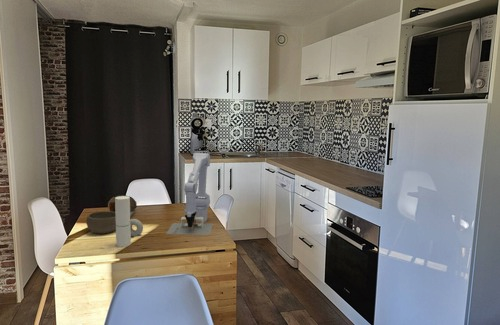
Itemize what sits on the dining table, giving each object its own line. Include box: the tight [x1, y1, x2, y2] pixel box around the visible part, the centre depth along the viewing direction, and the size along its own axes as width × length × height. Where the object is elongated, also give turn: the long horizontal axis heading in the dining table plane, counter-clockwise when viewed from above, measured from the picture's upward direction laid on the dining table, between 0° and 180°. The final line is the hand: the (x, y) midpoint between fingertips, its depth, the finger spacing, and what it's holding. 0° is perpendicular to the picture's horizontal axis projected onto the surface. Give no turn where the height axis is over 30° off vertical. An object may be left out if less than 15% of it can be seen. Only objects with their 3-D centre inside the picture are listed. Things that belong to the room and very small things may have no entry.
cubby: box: [165, 216, 214, 236], centre depth 217 cm, size 21×25×6 cm
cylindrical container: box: [115, 195, 132, 248], centre depth 190 cm, size 7×7×25 cm
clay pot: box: [107, 194, 138, 217], centre depth 246 cm, size 15×15×25 cm
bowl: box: [86, 210, 116, 235], centre depth 211 cm, size 17×18×10 cm
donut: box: [130, 218, 144, 237], centre depth 204 cm, size 10×4×10 cm, turn 79°
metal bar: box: [171, 226, 178, 235], centre depth 213 cm, size 10×2×1 cm, turn 1°
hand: (190, 225), depth 214 cm, fingers open, 5 cm apart
